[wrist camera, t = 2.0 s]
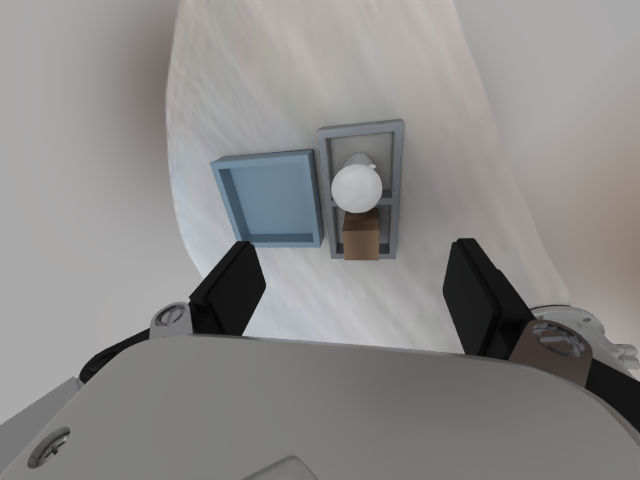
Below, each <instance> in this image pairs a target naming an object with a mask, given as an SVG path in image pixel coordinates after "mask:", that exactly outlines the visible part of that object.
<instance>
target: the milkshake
mask: <svg viewBox="0 0 640 480" xmlns="http://www.w3.org/2000/svg"><path fill="white" fill-rule="evenodd" d="M375 167H377V166H376V165H375V164H373V162H372V160H371V159H370V158H369V157H368V156H367V155H366V154H362V153H356V154H354V155H352V156H350V157H349V158H348V160H347V161H346V163H345V164H344V166H343V167H342V168H341V170H340V171H339V172H338V173H337V175H336V176H335V178H334V180H333V182H332V186H331V193H332V197H333V199H334V200H335V202H336V204H337V205H338V206H339V207H340V208H342V209H343V210H345V211H348V212H351V213H362V212H366V211H369V210H370V209H372V208H373V207H374V206H375V205H376V204H377V202H378V201H379V199H380V197H381V195H382V183H381V179H380V177H379V175H378V174H377V172H376V169H375Z"/></svg>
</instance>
